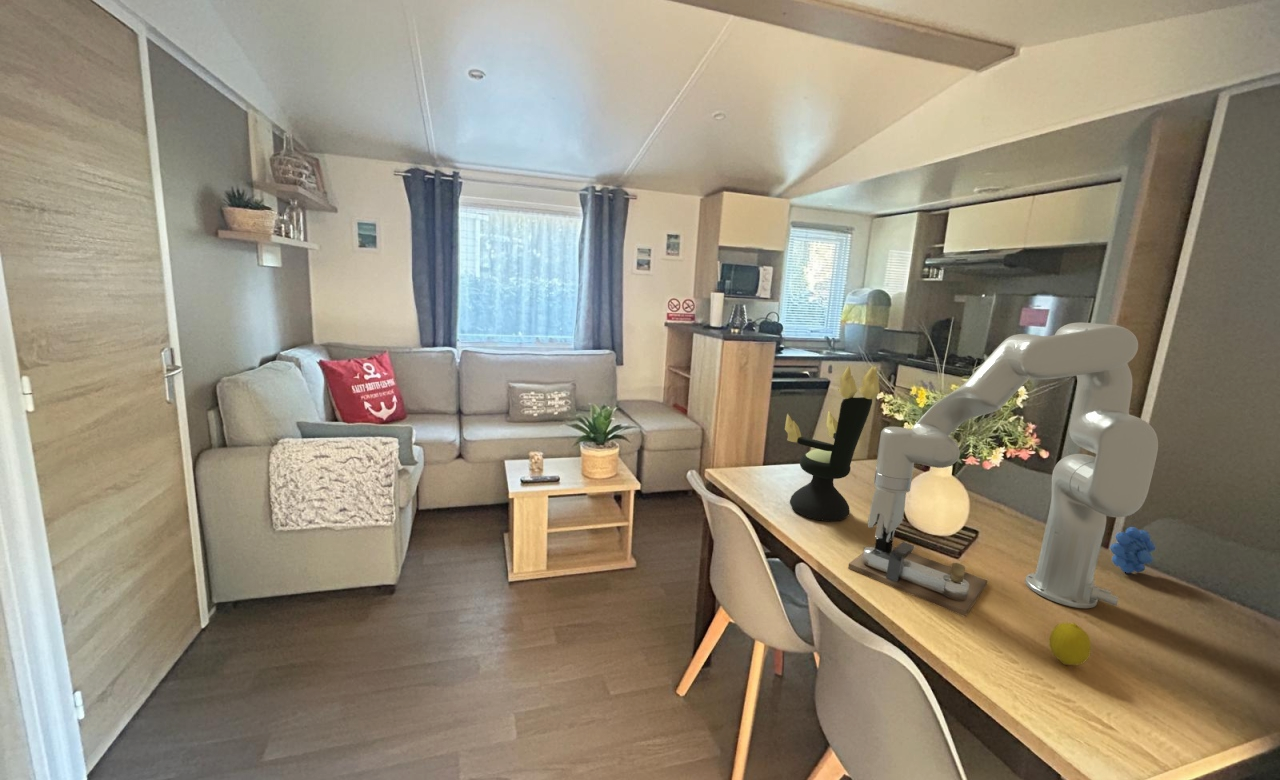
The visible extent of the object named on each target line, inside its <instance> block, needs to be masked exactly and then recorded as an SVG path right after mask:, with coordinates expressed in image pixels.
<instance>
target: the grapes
mask: <svg viewBox="0 0 1280 780" xmlns="http://www.w3.org/2000/svg"><path fill="white" fill-rule="evenodd" d="M1115 539H1116V542H1114V543H1112V544H1110V546H1109V547H1110V551H1111V554H1113V555H1112V557H1111V561H1112V563H1113V565H1114V566H1116V567H1119V568H1120V570H1121V571H1122V572H1124V573H1125V572H1126V573H1125V574H1131V573H1133V572H1137V573H1140V572H1143V571H1145V570H1146V565H1145V564H1151V563H1152V562H1154V556H1153V554H1152V553H1151V552H1154V551H1155V550H1156V545H1155V543H1154V542H1153V541H1152V540H1151V535H1150V533H1149V532H1148V531H1146V530H1144V529H1139V528H1137V527H1135V526H1129V527H1128V528H1126V529H1125V532H1124V531H1121V532H1117V533H1116V534H1115Z"/></svg>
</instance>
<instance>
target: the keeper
mask: <svg viewBox="0 0 1280 780" xmlns="http://www.w3.org/2000/svg"><path fill="white" fill-rule="evenodd" d="M895 547H896V548H895V549H894V550H893V551H891V552H890V556H889V563H888V569H887V575H886V579H889V580H891V581H894V582H896V583H898V582H899V581H900V580H901V574H902V568H903V562H904V559H905V558H906V557H907V556H908V555H909V554H910V553H913V551H914V548H915V545H914V544H910V543H908V542H905V541H902V542H900V544H898V545H897V546H895Z"/></svg>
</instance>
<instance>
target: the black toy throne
mask: <svg viewBox="0 0 1280 780" xmlns="http://www.w3.org/2000/svg"><path fill="white" fill-rule="evenodd" d="M877 368H878V367H877V366H874V365H872V366H871V368H869V369H868V371H867V372H866V373H865V375H864V376H863V377H862V379H861V380H862V381H861V382H862V386H861V387H859V388H857V385H856V382H855V379H854V377H853V375H852V372H851V371H852V370H851V368H850V365H848V366H847V367H846V369H845V370H844V372H843V373H842V375H841V376H840V378H839V381H840V387H839V388H838V391H839V394H840V395H841V396H842V397H843V399H842V401H841V403H840V408H839V415H838V418H837V419H838V420H837V419H836V418H835V417H834V416H833V415H832V413H831V412H830V410H828V412H827V417H826V422H825V423H826V424H825V425H826V428H827V430H828V436H829V437H830V438H832V439H834V441H833V444H832V443H830V442H825V441H821V440H817V439H813V438H809V437H805V436H802V434H801V430H800V427H799V425H798V424H797V423H796V422H795V420H792V418H791V416H790V415H789V413H787V414H786V420H785V426H784V430H785V432H786V433H787V438H786V441H788V442H792V443H797V444H798V445H801V446H805V447H809V448H813V449H811V450H809V451H808V452H806V453H804V454H803V455H802V456H801V457H800V459H799V465H800V468H801V469H802V470H803V472H805V473H807V474H808V475H811V476H812V477H811V480H810V482H809V483H807V484H806V485H803V486H802V487H800V488H798V489H797V490H796V491H794V493H793V494H792V495H791V496H790V499H789V504H790V507H791V508H792V510H794V511H795V512H796V513H798V514H800V515H801V516H803V517H806V518H810V519H813V520H817V521H824V522H839V521H843V520H844V519H846V518H847V517H848V516H849V515H850V512H851V511H850V505H849V503H848V501H847V500H846V498H845V497H844V496H843V494H841V493H840V492H839V490H838V489H837V488H836V487H835V484H834V480H838V479H843V478H846V477H847V476H848V475H849V474H850V472H851V464H852V461H853V457H854V454H855V450H856V448H857V445H858V442H859V440H860V438H861V435H862V433H863V429H864V427H865V424H866V422H867V420H868V416H869V415H870V411H871V407H872V404H873V399H875V398H876V397H877V395H878V394H879V393H880V385H879V375H877V373H878V369H877ZM858 391H859V393H860V394H861V396H862V397H855V395H856V394H857V392H858Z"/></svg>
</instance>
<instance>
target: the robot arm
mask: <svg viewBox="0 0 1280 780" xmlns="http://www.w3.org/2000/svg"><path fill="white" fill-rule="evenodd" d="M1138 350H1139V341H1138V339H1137V336H1136V335H1135V334H1134V333H1133V332H1132V331H1131V330H1129V329H1128V328H1127V327H1124V326H1120V325H1116V324H1106V323H1097V322H1096V323H1095V322H1081V321H1080V322H1072V323H1068V324H1065V325H1063V326H1061V327H1060V328H1058V329H1057V330H1056V332H1055V334H1054V335H1037V334H1030V333H1019V334H1013V335H1010V336H1009V337H1007V338H1005V339H1004V340H1003V341H1002V342H1001V343H1000V344H999V345H998V346H997V347H996V348H995V349H994V351H993V352H992V353H991V354H990V355H989V356H988V357H987V358H986V359H985V360H984V362H983V363H982V364H981V365H979V367H978V368H977V369H976V370H975V371H974V372H973V373H972V374H971V376H970V377H969V378H968V379H967V380H966V381H965V382H964V383H963V384H962V385H961V386H960V387H958V388H957V389H955V390H953V391H951V392H950V393H949V394H947V395H946V396H944V397H943V398H941V399H940V400H938V401H937V402H936V403H935V404H933V405H932V406H931V407H930V408H929V409H928V410H927V411H926V412H924V414H923V415H922V416H921V417H920V418H919V419H918V421H917V422H916V423H915V424H914V425H913V427H912V428H911V429H909V428H906V427H901V426H885V427H884V428H883V429H881V432H880V435H879V436H880V437H879V443H878V452H877V459H876V465H875V473H874V483H873V485H874V487H875V489H874V492H873V496H872V501H871V505H870V510H869V515H868V516H869V517H868V522H867V526H868V528H869V529H873V528H874V527H875V526H876V529H875V533H874V537H875V543H876V545H875V549H878V550H881V551H884V552H887V553H890V552H891V551H892V546H893V543H894V542H893V540H894V537H895V531H896V529H897V528H898V527H899V526H900V525H901V524H902V522H903V519H904V514H905V506H906V495H907V493H909V492H910V491H911V489H912V488H911V487H912V479H913V473H914V466H915V465H914V464H919V465H923V466H928V467H931V468H937V469H944V468H948V467H952V466H953V465H954V464H955V463H956V462H957V461H958V460H959V458H960V453H961V452H960V447H959V445H958V443H957V442H956V441H955V440H954V439H953V438H952V437H951V436H950V435H951V434H952V433H953V432H954V430H955V431H956V429H957V428H958V427H959V426H961V425H962V424H963V423H965V422H966V421H968V420H970V419H973V418H976V417H980V416H983V415H988V414H992V413H995V412H997V411H1000V410H1001V409H1002V408H1003V407H1004V405H1005V404H1007V402H1008V401H1009V400H1010V399H1012V397H1013V396H1014V395H1015V394H1016V393H1017V392H1018V391H1019V389H1021V388H1022V387H1023V386H1024V385H1025V384H1026V383H1027V382H1028V381H1029V380H1030V379H1036V380H1053V379H1054V380H1055V379H1062V378H1068V377H1074V376H1075V377H1076V380H1077V387H1076V395H1075V400H1074V405H1073V409H1072V414H1071V419H1070V424H1069V431H1068V433H1069V437H1070V439H1071V441H1073V443H1074V444H1076V445H1077V446H1078V447H1080V448H1082V449H1084V450H1087V451H1088V452H1090V453H1093V454H1095V456H1093V455H1090V454H1085V453H1084V454H1083V453H1073V454H1070V455H1066V456H1064V457H1062V458H1061V459H1060V460H1059V461H1058V462H1057V463H1056V464H1055V466H1054V468H1053V470H1052V474H1051V500H1050V505H1049V512H1048V516H1047V520H1046V525H1045V529H1044V533H1043V538H1042V542H1041V546H1040V547H1041V549H1040V552H1039V557H1038V561H1037V566H1036V570H1035V572H1031V573H1029V574H1027V575H1026V577H1025V581H1024V582H1025V584H1026V586H1027V587H1028V588H1029V589H1030V590H1031V591H1033V592H1035V593H1036V594H1038V595H1039V596H1041V597H1044V598H1045V599H1047V600H1049V601H1052V602H1055V603H1057V604H1061V605H1064V606H1067V607H1070V608H1071V607H1072V608H1077V609H1090V608H1091V609H1092V608H1094V607H1096V606H1097V605H1098V602H1099V601H1102V602H1104V603H1107V604H1109V605H1113V606H1115V607H1117V606H1118V602H1119V596H1118V595H1113V594H1112V591H1111V590H1108V589H1105V588H1101V587H1098V585H1096V584H1095V580H1096V579H1095V578H1094V575H1095V571H1096V568H1097V563H1098V559H1099V555H1100V550H1101V547H1102V543H1103V539H1104V535H1105V531H1106V526H1107V517H1110V518H1125V517H1129V516H1132V515H1133V514H1135V513H1136V512H1138V511H1139V510H1140V509H1141V508H1142V506H1143V505H1144V503H1145V501H1146V499H1147V496H1148V494H1149V490H1150V487H1151V486H1150V485H1151V482H1152V477H1153V473H1154V469H1155V465H1156V460H1157V456H1158V451H1159V440H1158V439H1159V438H1158V435H1157V433H1156V431H1155V429H1154V428H1153V426H1152V425H1151V424H1150V423H1148V422H1147V421H1146V420H1145V419H1142V418H1140V417H1138V416H1135V415H1131V414H1130V406H1131V398H1132V394H1133V393H1132V391H1133V375H1132V370H1131V369H1130V366H1129V362H1131V361H1132V360H1133V359H1134V358H1135V356H1136V355H1137V353H1138ZM1098 600H1099V601H1098Z"/></svg>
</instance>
